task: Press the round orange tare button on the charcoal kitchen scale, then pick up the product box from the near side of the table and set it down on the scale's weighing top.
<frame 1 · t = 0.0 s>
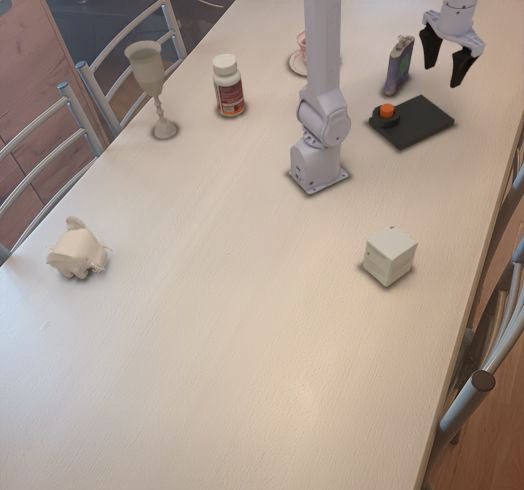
hand: (442, 76, 98), 10 cm above the table, tool pointing down, fingers open, 7 cm apart
tare button: (386, 110, 105), point 3 cm above the table, slide at 0.1 cm
chalice: (165, 132, 113), on the table
elephant figurine: (87, 267, 94), on the table
pill bottle: (231, 110, 115), on the table
scale: (410, 124, 107), on the table
product box: (386, 269, 88), on the table
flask: (395, 86, 115), on the table
teacup: (313, 63, 122), on the table
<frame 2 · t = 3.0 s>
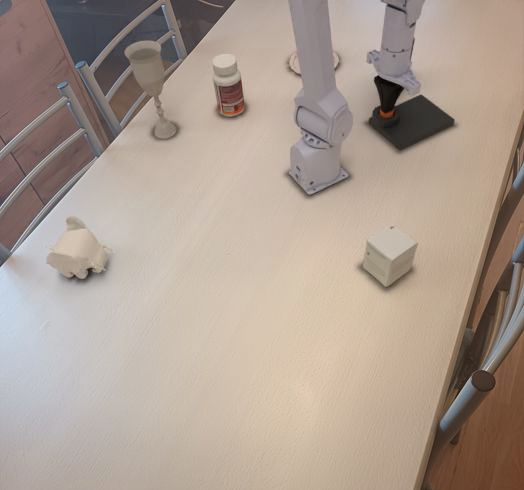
hand: (386, 110, 105), 3 cm above the table, tool pointing down, fingers closed, pressing on tare button
tare button: (386, 113, 105), point 3 cm above the table, slide at -0.6 cm, touching gripper
everything else where it was.
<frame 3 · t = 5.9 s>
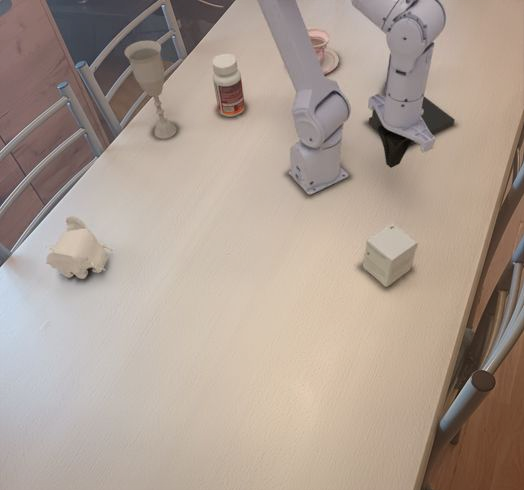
hand: (393, 163, 88), 9 cm above the table, tool pointing down, fingers closed
tare button: (386, 110, 105), point 3 cm above the table, slide at 0.1 cm
everything else where it was.
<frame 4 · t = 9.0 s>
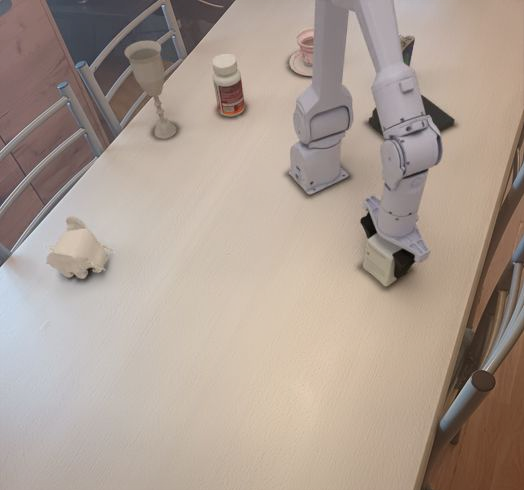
hand: (387, 261, 87), 2 cm above the table, tool pointing down, fingers closed on product box, 6 cm apart
product box: (386, 269, 88), on the table, touching gripper
everything else where it was.
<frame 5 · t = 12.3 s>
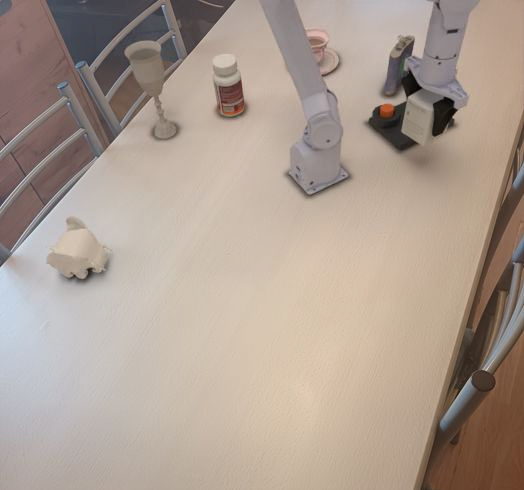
hand: (425, 124, 93), 9 cm above the table, tool pointing down, fingers closed on product box, 6 cm apart
product box: (423, 133, 95), point 7 cm above the table, touching gripper
everything else where it was.
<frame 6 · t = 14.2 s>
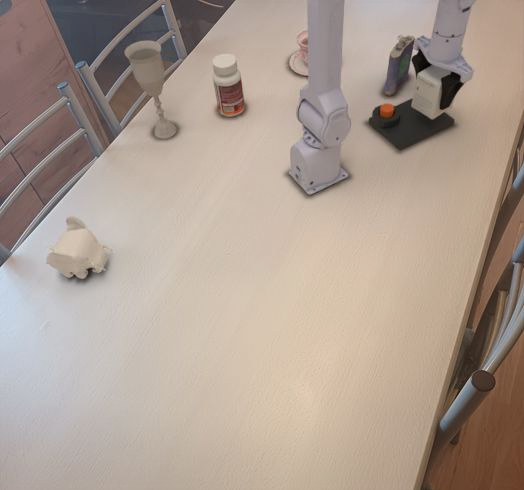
hand: (433, 99, 102), 6 cm above the table, tool pointing down, fingers closed on product box, 6 cm apart
product box: (431, 108, 104), point 4 cm above the table, touching gripper
everything else where it was.
when the fingers open (3 cm above the table, at t = 15.6 s): product box stays where it is, resting on scale.
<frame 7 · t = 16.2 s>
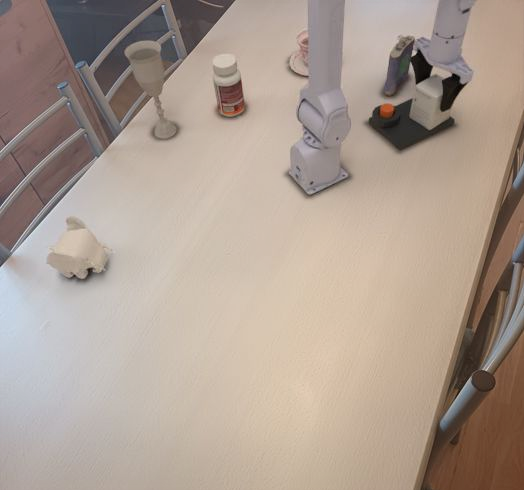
hand: (432, 100, 102), 6 cm above the table, tool pointing down, fingers open, 7 cm apart
product box: (428, 118, 106), point 1 cm above the table, touching scale
everything else where it was.
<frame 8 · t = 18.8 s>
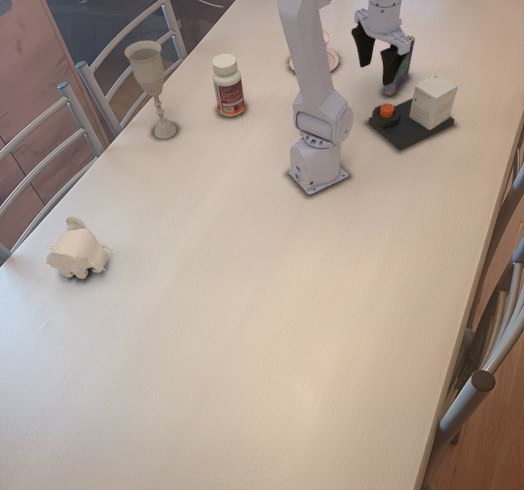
hand: (376, 74, 100), 10 cm above the table, tool pointing down, fingers open, 7 cm apart
nothing on the table moved.
at the end: tare button pushed in 1.0 cm at the most during the clip, back to where it started at the end; product box inside the target area on the scale (3.6 cm from its centre), point 1.2 cm above the scale's base; product box touching scale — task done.
